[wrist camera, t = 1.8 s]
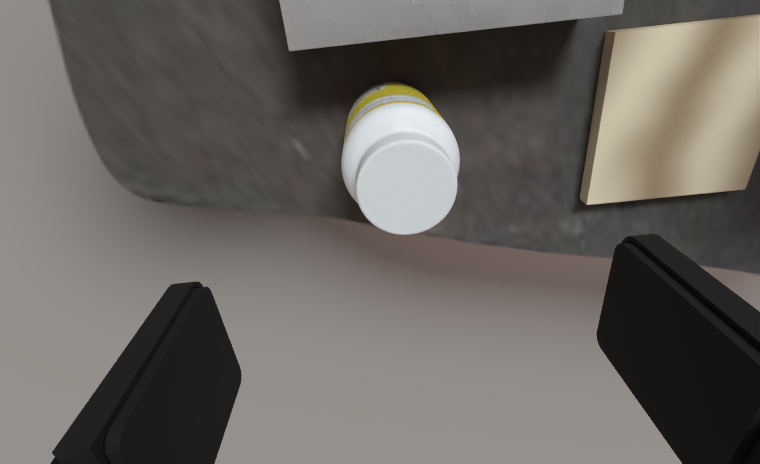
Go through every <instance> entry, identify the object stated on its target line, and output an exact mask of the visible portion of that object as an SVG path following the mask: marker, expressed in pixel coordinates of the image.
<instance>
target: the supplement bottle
mask: <svg viewBox="0 0 760 464" xmlns="http://www.w3.org/2000/svg"><path fill="white" fill-rule="evenodd" d="M459 165H460V156H459V149H458V145H457V142H456V139H455V137H454V135H453V133H452V131H451V129H450V128H449V126H448V124H447V123H446V122H445V121H444V119H443V118H442V117H441V115H440V114H439V113H438V111H437V110H436V109H435V107H434V106H433V105H432V104H431V102H430V101H429V100H428V99H427V98H426V96H425V95H423V94H422V93H421V92H420V91H418V90H417V89H415V88H413V87H412V86H409V85H407V84H403V83H396V82H388V83H382V84H379V85H376V86H373V87H371V88H370V89H368V90H367V91H365V92H364V93H363V94H362V95H361V96H360V97H359V98H358V99H357V100H356V101H355V103H354V104H353V106H352V108H351V110H350V113H349V115H348V119H347V125H346V132H345V138H344V145H343V151H342V159H341V168H342V176H343V180H344V183H345V185H346V188H347V190H348V191H349V193H350V195H351V196H352V198H353V199H354V200H355V201H356V202H357V203H358V204H359V207H360V209H361V211H362V212H363V214H364V215H365V217H366V218H367V219H368V220H369V221H370V222H371V223H372V224H373V225H375V226H376V227H378V228H379V229H381V230H384V231H386V232H389V233H393V234H399V235H410V234H416V233H420V232H423V231H425V230H428V229H430V228H432V227H433V226H435V225H436V224H438V223H439V222H440V221H441V220H442V219H443V218H444V217H445V216H446V215H447V214H448V212H449V211H450V209H451V207H452V205H453V203H454V201H455V197H456V194H457V176H458V172H459Z"/></svg>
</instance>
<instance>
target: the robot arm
mask: <svg viewBox="0 0 760 464" xmlns="http://www.w3.org/2000/svg"><path fill="white" fill-rule="evenodd" d="M597 340H598V343H599V346H600V348H601V349H602V351H603V352H604V354H605V355H606V356H607V358H608V359H609V361H610V362H611V363H612V365H613V366H614V367H615V369H616V371H617V372H618V373H619V375H620V376H621V377H622V379H623V380H624V382H625V383H626V385H627V386H628V387H629V389H630V390H631V392H632V393H633V394H634V396H635V397H636V399H637V400H638V402H639V403H640V404H641V406H642V407H643V408H644V410H645V411H646V413H647V414H648V416H649V417H650V419H651V420H652V421H653V423H654V424H655V426H656V427H657V428H658V430H659V431H660V432H661V434H662V435H663V437H664V438H665V440H666V441H667V442H668V444H669V445H670V447H671V448H672V449H673V451H674V452H675V454H676V455H677V457H678V458H679V459H680V461H681V462H682V464H760V312H759V311H758V310H756V309H755V308H753V306H751V305H750V304H749V303H747V302H746V301H745V300H743V299H742V298H741V297H739V296H738V295H737V294H735V293H734V292H733V291H731V290H730V289H729V288H727V287H726V286H725V285H723V284H722V283H721V282H719V281H718V280H717V279H715V278H714V277H713V276H711V275H710V274H709V273H708V272H706V271H705V270H704V269H702V268H701V267H700V266H698V265H697V264H696V263H694V262H693V261H692V260H690V259H689V258H688V257H686V256H685V255H684V254H682V253H681V252H680V251H678V250H677V249H676V248H674V247H673V246H672V245H670V244H669V243H668V242H666V241H665V240H664V239H663V238H661V237H660V236H658V235H656V234H647V235H638V236H628V237H626V238H625V239H624V240H623V241H622V244H618V245H617V246H616V248H615V251H614V256H613V260H612V265H611V270H610V274H609V279H608V283H607V288H606V292H605V297H604V302H603V306H602V311H601V315H600V320H599V325H598V329H597ZM240 384H241V369H240V366H239V363H238V361H237V358H236V356H235V353H234V350H233V347H232V345H231V342H230V340H229V337H228V334H227V332H226V329H225V326H224V324H223V321H222V318H221V316H220V313H219V311H218V308H217V305H216V303H215V300H214V297H213V295H212V292H211V290H210V289H209V288H208V287H203V286H202V284H201V283H200V282H188V283H179V284H173V285H170V287H168V289H167V290H166V292H165V293H164V295H163V296H162V297H161V299H160V300H159V302H158V303H157V304H156V306H155V307H154V309H153V310H152V311H151V313H150V314H149V316H148V317H147V319H146V320H145V321H144V323H143V324H142V326H141V327H140V328H139V330H138V331H137V333H136V334H135V336H134V337H133V338H132V340H131V341H130V343H129V344H128V345H127V347H126V348H125V350H124V351H123V353H122V354H121V355H120V357H119V358H118V360H117V361H116V362H115V364H114V365H113V367H112V368H111V370H110V371H109V372H108V374H107V375H106V377H105V378H104V379H103V381H102V382H101V384H100V385H99V387H98V388H97V389H96V391H95V392H94V394H93V395H92V396H91V398H90V399H89V401H88V402H87V404H86V405H85V406H84V408H83V409H82V411H81V412H80V414H79V415H78V416H77V418H76V419H75V421H74V422H73V424H72V425H71V426H70V428H69V429H68V430H67V432H66V433H65V435H64V436H63V438H62V439H61V440H60V442H59V443H58V445H57V446H56V447H55V449H54V450H53V452H52V453H53V455H54V456H55V458H54V459H53V461H52V462H51V464H214V463H215V460H216V457H217V454H218V451H219V448H220V445H221V442H222V439H223V435H224V432H225V430H226V427H227V423H228V421H229V417H230V414H231V411H232V408H233V405H234V402H235V399H236V396H237V393H238V390H239V387H240Z"/></svg>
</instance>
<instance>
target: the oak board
mask: <svg viewBox="0 0 760 464" xmlns="http://www.w3.org/2000/svg"><path fill="white" fill-rule="evenodd" d="M759 151H760V14H757V15H748V16H739V17H730V18H721V19H712V20H703V21H694V22H685V23H676V24H667V25H658V26H649V27H640V28H631V29H622V30H613V31H606V32H605V39H604V45H603V52H602V58H601V64H600V71H599V77H598V84H597V90H596V96H595V103H594V109H593V116H592V122H591V128H590V135H589V141H588V148H587V154H586V161H585V167H584V173H583V180H582V186H581V193H580V199H581V200H582V201H583V202H584V203H585V204H586V205H592V204H602V203H612V202H622V201H632V200H642V199H652V198H663V197H673V196H683V195H693V194H703V193H713V192H723V191H733V190H743V189H746V186H747V183H748V181H749V178H750V175H751V173H752V170H753V167H754V165H755V162H756V159H757V156H758V154H759Z"/></svg>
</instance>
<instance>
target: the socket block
mask: <svg viewBox="0 0 760 464" xmlns="http://www.w3.org/2000/svg"><path fill="white" fill-rule="evenodd" d="M279 2H280V7H281V12H282V17H283V22H284V28H285V33H286V38H287V43H288V49H289V51H295V50H304V49H313V48H322V47H331V46H340V45H349V44H358V43H367V42H376V41H385V40H394V39H403V38H412V37H421V36H430V35H439V34H448V33H457V32H466V31H475V30H484V29H492V28H501V27H510V26H519V25H528V24H537V23H546V22H555V21H564V20H573V19H582V18H591V17H600V16H609V15H618V14H622V11H623V6H624V0H279Z"/></svg>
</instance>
